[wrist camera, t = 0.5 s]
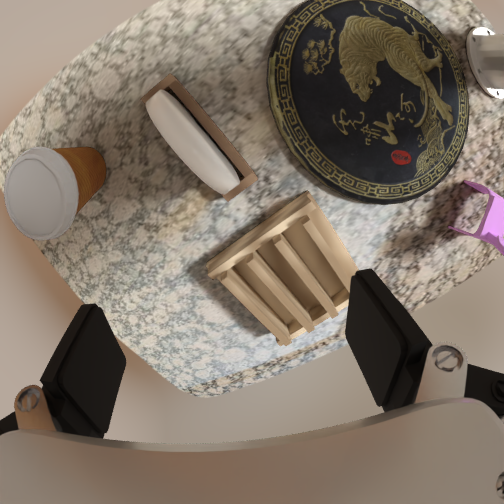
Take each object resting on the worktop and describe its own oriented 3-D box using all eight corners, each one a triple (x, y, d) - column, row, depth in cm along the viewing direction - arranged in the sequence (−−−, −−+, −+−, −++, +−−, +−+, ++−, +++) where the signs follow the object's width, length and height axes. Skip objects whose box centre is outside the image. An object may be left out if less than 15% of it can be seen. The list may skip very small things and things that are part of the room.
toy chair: (488, 190, 35) (550, 225, 22) (471, 236, 39) (527, 280, 26) (461, 174, 34) (531, 209, 21) (443, 226, 38) (505, 273, 25)
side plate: (174, 93, 28) (144, 84, 18) (238, 170, 33) (241, 199, 22) (162, 104, 29) (126, 100, 18) (226, 179, 33) (223, 213, 23)
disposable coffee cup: (128, 191, 33) (85, 228, 22) (72, 214, 34) (23, 255, 23) (104, 122, 29) (50, 130, 18) (49, 152, 29) (-9, 174, 19)
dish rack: (307, 190, 34) (319, 203, 30) (362, 276, 41) (375, 296, 36) (206, 262, 38) (203, 284, 33) (274, 331, 44) (279, 355, 40)
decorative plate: (445, 223, 36) (247, 183, 32) (438, 219, 38) (246, 179, 34) (477, 46, 23) (289, -42, 19) (469, 47, 25) (286, -35, 21)
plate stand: (174, 76, 27) (170, 73, 25) (256, 174, 33) (258, 179, 31) (146, 100, 28) (140, 99, 26) (228, 195, 34) (227, 201, 32)
